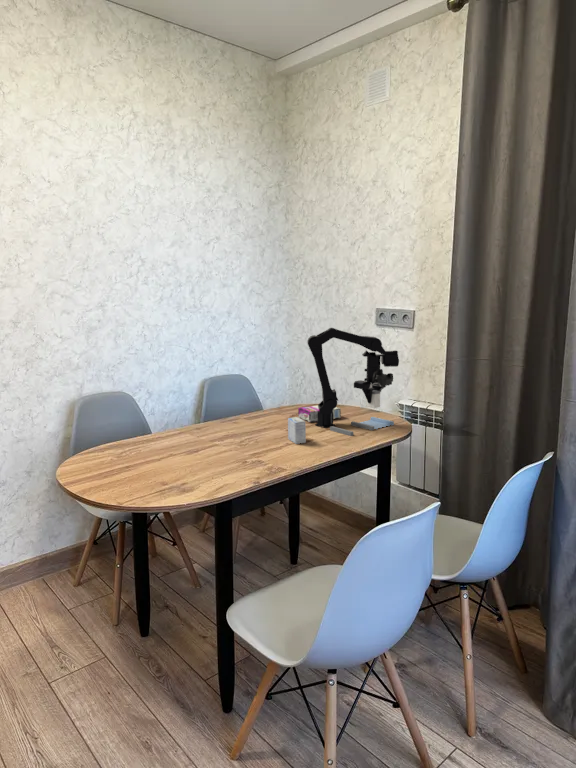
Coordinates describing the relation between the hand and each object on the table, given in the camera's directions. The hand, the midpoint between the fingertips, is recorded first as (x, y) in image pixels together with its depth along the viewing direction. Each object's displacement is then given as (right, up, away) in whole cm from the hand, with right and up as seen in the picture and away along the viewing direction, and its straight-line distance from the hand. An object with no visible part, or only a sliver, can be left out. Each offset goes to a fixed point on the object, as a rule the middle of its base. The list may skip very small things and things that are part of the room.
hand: (372, 402), depth 229 cm
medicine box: (-33, -14, -22) cm, 42 cm away
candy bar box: (-30, -6, +11) cm, 32 cm away
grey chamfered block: (0, -2, 0) cm, 2 cm away
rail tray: (-5, -11, -2) cm, 12 cm away
